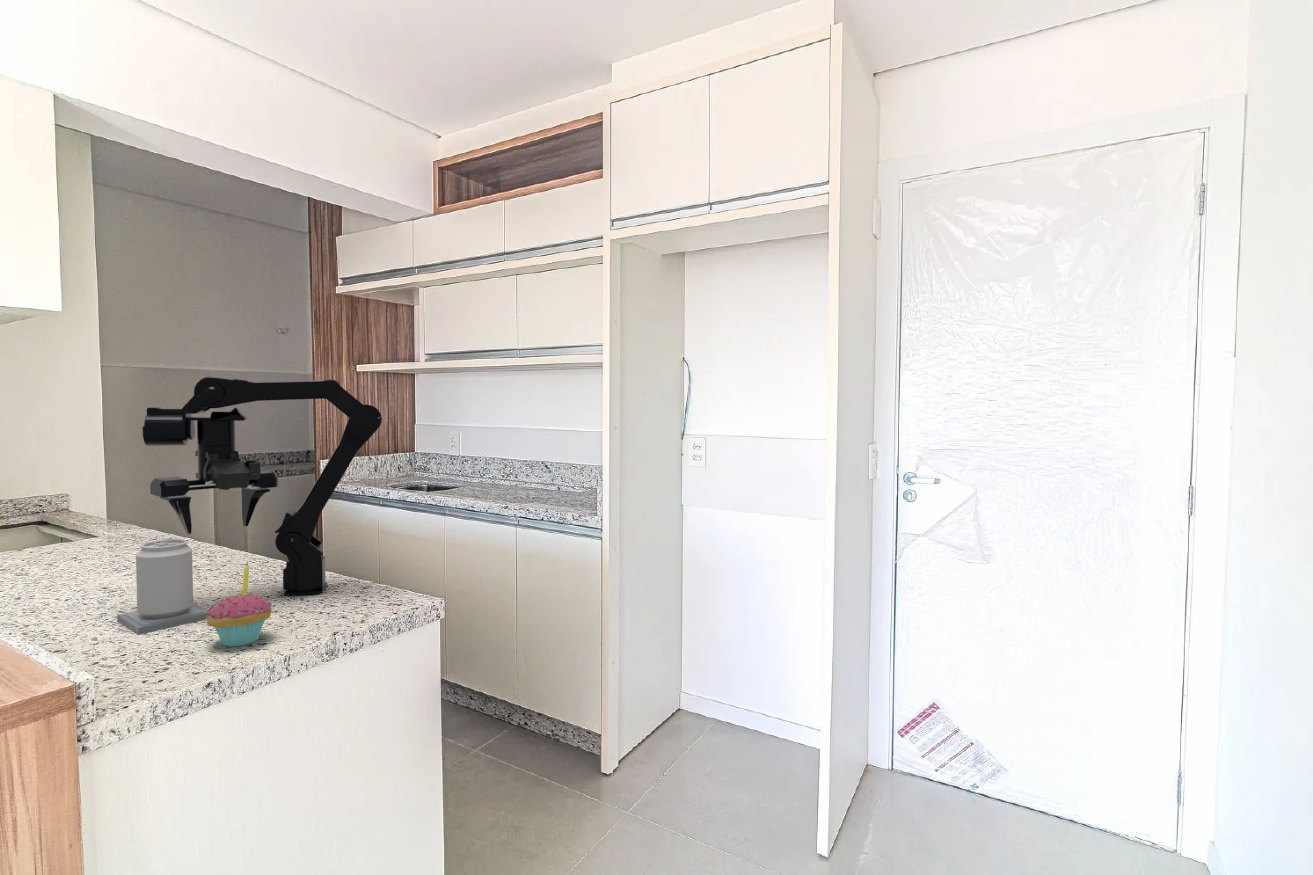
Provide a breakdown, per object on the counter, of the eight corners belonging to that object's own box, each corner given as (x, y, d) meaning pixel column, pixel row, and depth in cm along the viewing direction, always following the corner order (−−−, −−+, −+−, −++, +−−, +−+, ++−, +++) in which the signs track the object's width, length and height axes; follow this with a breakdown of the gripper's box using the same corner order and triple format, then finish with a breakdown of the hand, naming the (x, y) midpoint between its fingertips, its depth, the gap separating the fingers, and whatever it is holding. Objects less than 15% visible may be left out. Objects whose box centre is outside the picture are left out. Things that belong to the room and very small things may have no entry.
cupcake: (228, 631, 103) (227, 557, 102) (283, 630, 103) (282, 557, 103) (194, 652, 94) (192, 572, 93) (254, 651, 95) (253, 572, 94)
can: (163, 621, 103) (161, 548, 102) (125, 617, 105) (123, 545, 104) (204, 607, 111) (203, 538, 110) (168, 603, 112) (166, 536, 111)
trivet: (187, 605, 114) (187, 599, 114) (211, 617, 109) (210, 611, 109) (117, 620, 106) (117, 614, 106) (138, 634, 100) (138, 627, 100)
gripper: (172, 450, 105) (174, 544, 105) (291, 445, 120) (292, 527, 121) (148, 446, 111) (150, 535, 112) (263, 442, 126) (264, 520, 127)
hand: (218, 529), depth 118 cm, fingers open, 9 cm apart
